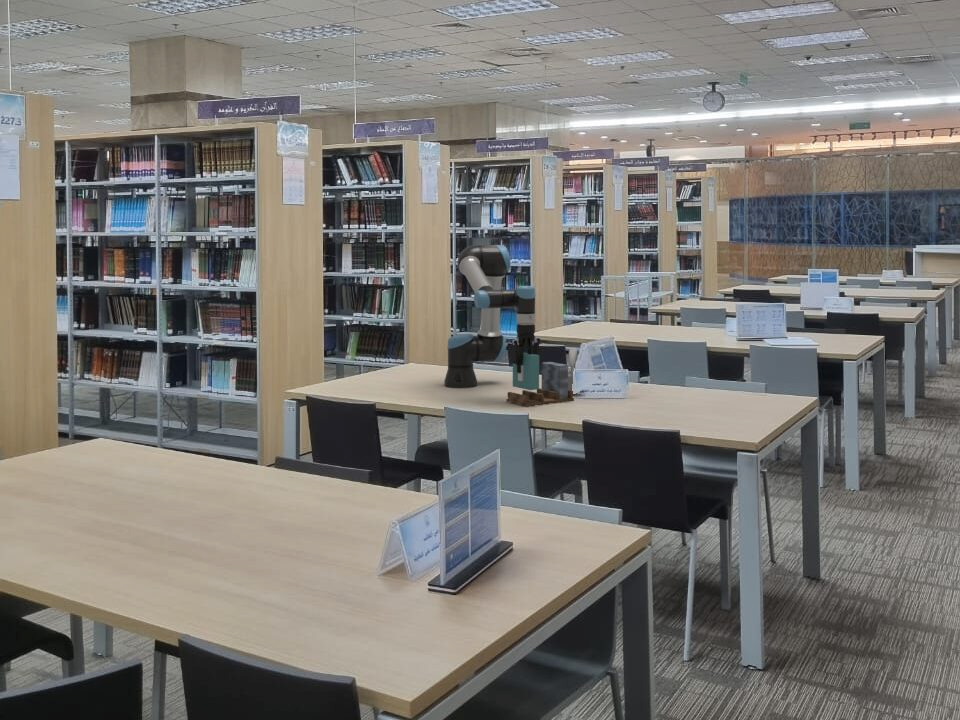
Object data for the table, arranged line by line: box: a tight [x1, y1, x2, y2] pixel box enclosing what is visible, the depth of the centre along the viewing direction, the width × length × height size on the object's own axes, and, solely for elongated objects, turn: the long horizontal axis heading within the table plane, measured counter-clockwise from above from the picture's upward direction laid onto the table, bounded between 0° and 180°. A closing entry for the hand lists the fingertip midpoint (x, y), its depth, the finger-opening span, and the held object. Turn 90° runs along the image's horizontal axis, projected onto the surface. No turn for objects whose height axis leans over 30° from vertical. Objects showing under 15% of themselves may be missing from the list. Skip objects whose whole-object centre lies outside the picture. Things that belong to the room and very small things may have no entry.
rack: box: [505, 361, 575, 408], centre depth 409 cm, size 14×25×15 cm, turn 125°
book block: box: [512, 352, 540, 391], centre depth 404 cm, size 12×4×14 cm, turn 35°
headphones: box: [568, 347, 579, 390], centre depth 428 cm, size 19×9×20 cm, turn 171°
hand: (525, 380), depth 404 cm, fingers closed on book block, 4 cm apart
